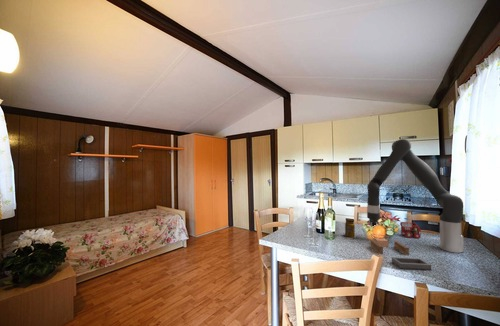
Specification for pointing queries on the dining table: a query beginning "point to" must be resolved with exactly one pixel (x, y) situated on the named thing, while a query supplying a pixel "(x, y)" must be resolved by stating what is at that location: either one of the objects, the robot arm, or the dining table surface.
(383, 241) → the block
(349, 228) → the condiment
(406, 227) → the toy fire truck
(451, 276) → the dining table surface
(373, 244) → the channel
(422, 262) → the tray
